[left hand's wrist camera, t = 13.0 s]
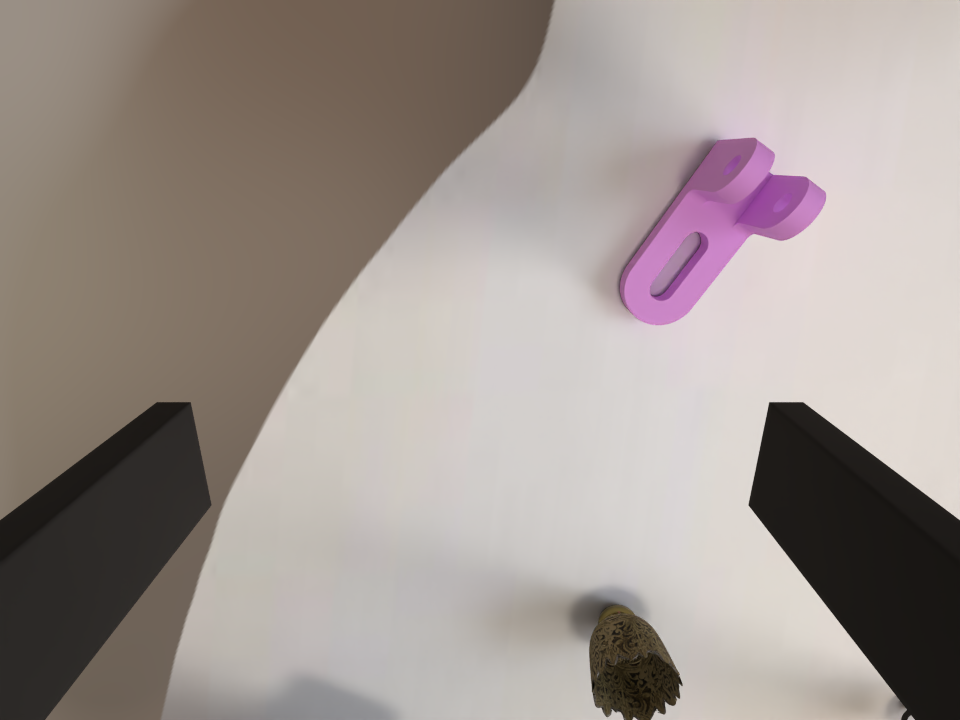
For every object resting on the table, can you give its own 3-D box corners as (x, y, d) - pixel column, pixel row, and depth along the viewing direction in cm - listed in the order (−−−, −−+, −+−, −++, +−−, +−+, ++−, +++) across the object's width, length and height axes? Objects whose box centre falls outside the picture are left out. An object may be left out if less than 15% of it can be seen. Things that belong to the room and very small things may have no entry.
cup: (668, 600, 52) (700, 675, 44) (631, 653, 54) (655, 733, 47) (598, 575, 51) (619, 648, 43) (564, 631, 53) (577, 709, 46)
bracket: (717, 140, 38) (767, 136, 31) (777, 185, 39) (837, 190, 32) (605, 295, 42) (628, 321, 35) (662, 332, 43) (695, 364, 36)
